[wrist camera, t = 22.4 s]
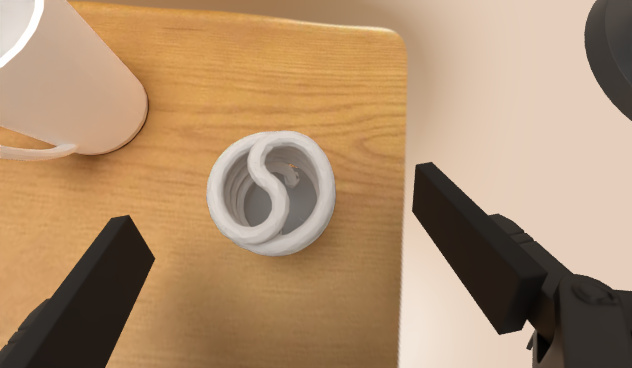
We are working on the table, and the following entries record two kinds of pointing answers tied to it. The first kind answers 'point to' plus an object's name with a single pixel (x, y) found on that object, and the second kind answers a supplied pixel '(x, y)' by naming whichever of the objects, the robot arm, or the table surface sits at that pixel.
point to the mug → (63, 83)
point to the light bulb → (272, 192)
